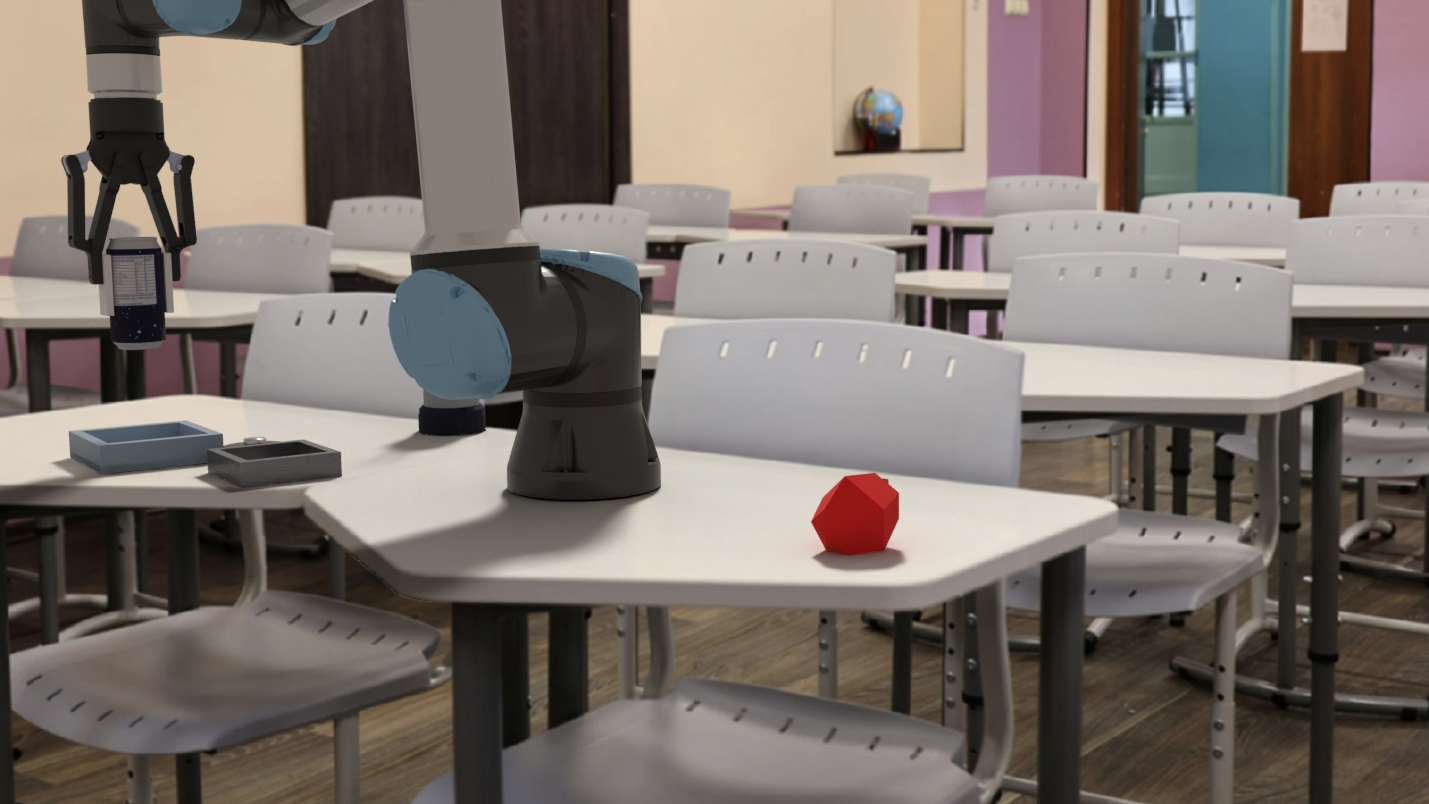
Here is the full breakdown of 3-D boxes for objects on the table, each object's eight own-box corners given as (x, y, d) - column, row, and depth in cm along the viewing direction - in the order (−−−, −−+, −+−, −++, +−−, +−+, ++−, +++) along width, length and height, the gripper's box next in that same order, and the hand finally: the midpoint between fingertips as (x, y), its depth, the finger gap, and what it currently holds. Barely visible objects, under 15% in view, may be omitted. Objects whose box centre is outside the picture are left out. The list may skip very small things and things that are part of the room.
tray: (224, 461, 177) (222, 433, 177) (101, 474, 170) (99, 445, 169) (187, 445, 188) (186, 420, 187) (70, 457, 180) (68, 431, 180)
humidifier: (464, 423, 203) (458, 223, 200) (498, 431, 197) (493, 223, 193) (406, 430, 198) (398, 224, 195) (439, 438, 192) (432, 225, 188)
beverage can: (177, 346, 178) (172, 236, 176) (135, 351, 173) (129, 238, 172) (142, 344, 181) (136, 236, 179) (100, 349, 176) (93, 238, 174)
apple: (836, 496, 126) (902, 449, 130) (783, 500, 131) (848, 454, 136) (871, 574, 127) (935, 524, 132) (817, 574, 133) (880, 526, 137)
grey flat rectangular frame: (341, 475, 167) (340, 450, 167) (241, 487, 161) (240, 461, 161) (282, 454, 181) (281, 431, 181) (188, 464, 175) (187, 440, 175)
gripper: (201, 100, 182) (211, 307, 185) (25, 96, 171) (38, 315, 174) (223, 97, 176) (233, 311, 179) (41, 93, 165) (55, 320, 168)
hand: (137, 313), depth 176 cm, fingers closed on beverage can, 6 cm apart
